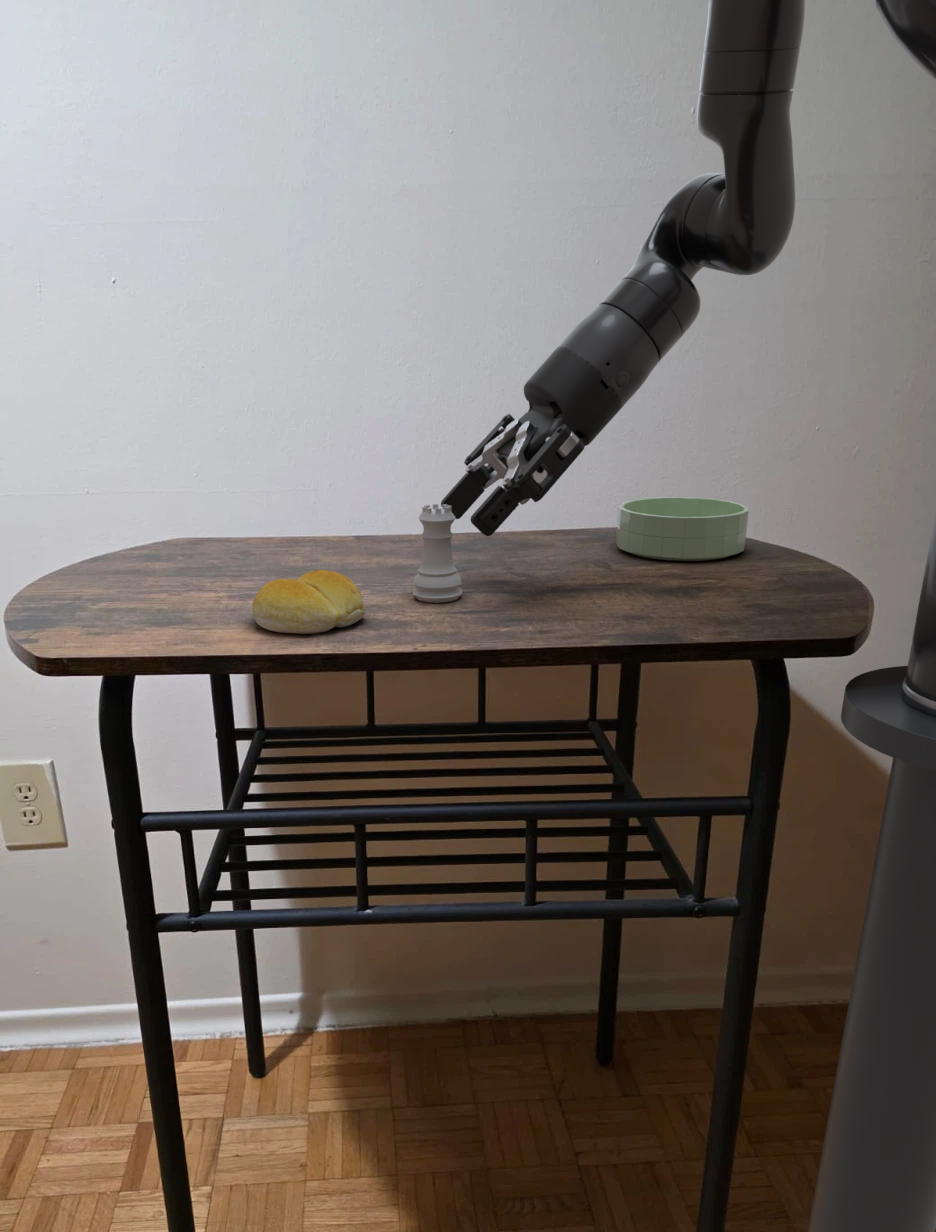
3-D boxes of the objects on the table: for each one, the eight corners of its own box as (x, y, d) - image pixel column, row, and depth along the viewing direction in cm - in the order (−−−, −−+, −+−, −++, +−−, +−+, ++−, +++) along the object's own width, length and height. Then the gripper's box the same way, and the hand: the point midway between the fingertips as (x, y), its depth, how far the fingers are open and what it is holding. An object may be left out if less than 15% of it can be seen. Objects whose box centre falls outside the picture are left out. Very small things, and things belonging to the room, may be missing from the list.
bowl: (769, 557, 98) (775, 512, 96) (653, 567, 95) (656, 521, 94) (702, 534, 110) (705, 494, 108) (596, 542, 107) (598, 501, 105)
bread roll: (237, 621, 80) (233, 573, 79) (330, 603, 85) (328, 558, 84) (284, 643, 74) (280, 592, 73) (382, 623, 79) (380, 574, 77)
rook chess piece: (409, 603, 84) (407, 510, 82) (415, 590, 89) (414, 502, 86) (460, 604, 84) (460, 511, 81) (464, 591, 88) (464, 502, 85)
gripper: (531, 343, 87) (410, 481, 89) (600, 343, 74) (458, 503, 76) (583, 403, 90) (465, 534, 92) (658, 412, 77) (520, 565, 79)
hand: (462, 520), depth 84 cm, fingers open, 8 cm apart
